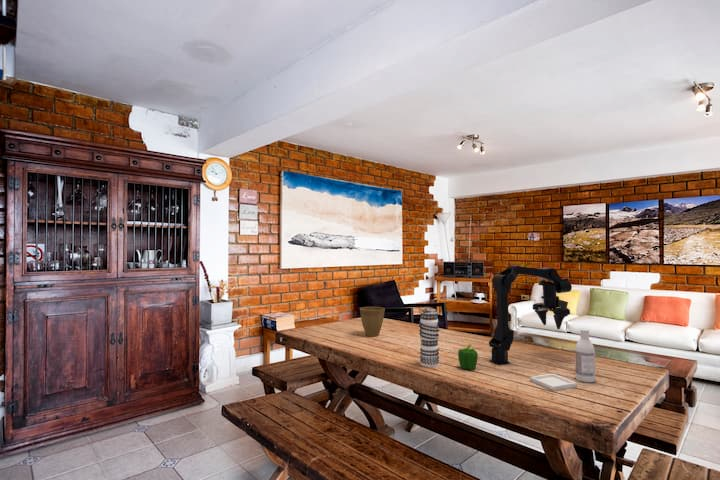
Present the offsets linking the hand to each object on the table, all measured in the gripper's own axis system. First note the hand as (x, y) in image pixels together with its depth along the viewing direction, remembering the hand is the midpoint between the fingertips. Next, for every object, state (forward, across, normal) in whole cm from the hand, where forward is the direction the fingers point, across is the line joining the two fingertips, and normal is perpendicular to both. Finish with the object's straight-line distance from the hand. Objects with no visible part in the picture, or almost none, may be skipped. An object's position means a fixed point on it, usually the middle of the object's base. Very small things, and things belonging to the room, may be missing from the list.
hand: (551, 327), depth 189 cm
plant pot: (+10, +67, +70) cm, 97 cm away
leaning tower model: (+11, +6, +61) cm, 62 cm away
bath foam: (+14, -29, +10) cm, 34 cm away
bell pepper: (+12, -4, +47) cm, 48 cm away
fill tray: (+13, -30, +25) cm, 41 cm away
